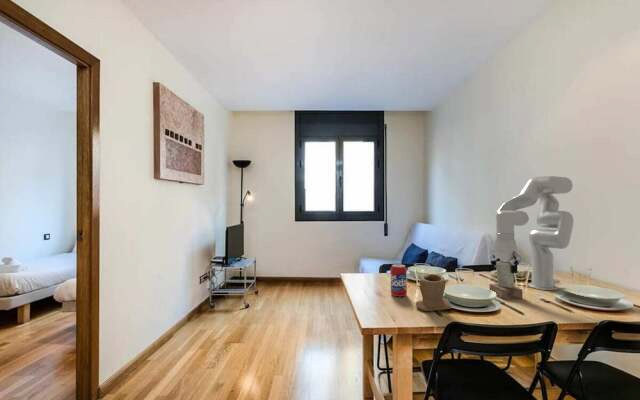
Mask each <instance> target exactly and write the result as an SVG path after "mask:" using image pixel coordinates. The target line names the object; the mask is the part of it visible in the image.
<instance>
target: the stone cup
mask: <svg viewBox="0 0 640 400" xmlns="http://www.w3.org/2000/svg"><path fill="white" fill-rule="evenodd" d="M445 288H446V281H445V279H444V277H443V276H441V275H440V274H436V273H429V274H426V275H422V276H421V277H420V279H419V289H420V293H421V296H422V297H421V298H422V300H418V301H416V302H415V306H416V307H417V308H418V309H419V310H422V311H427V312H434V311H443V310H451V309H452V305H451V304H450V302H449V299H448V298H444V293H445Z"/></svg>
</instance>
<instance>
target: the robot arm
mask: <svg viewBox="0 0 640 400" xmlns="http://www.w3.org/2000/svg"><path fill="white" fill-rule="evenodd" d="M523 186H524V187H523V188H522V189H521V191H520V192H519V194H517V195H516V196H514V197H512V198H510V199H508V200H507V201H505V202H503V204H502V205H501V206H500V207H499V209H498V210H497V212H496V214H495V220H496V221H495V222H496V225H495V226H496V233H495V234H496V237H495V239H494V244H493V250H492V251H491V255H492V258H493V260H494V264H495V265H494V269H495V270H497V266H496V262H497V261H509V262H511V264H512V265H511V273H514V274H518V271H519V270H518V266H519V264H520V263H521V260H522V256H521V255H520V254H518V251H517V250H518V249H517V243H516V239H515V226H517V227H518V226H520V227H521V226H525V225H527V224H528V222H529V220H530V218H529V214H528V213H527V212H526V211H523V210H522V209H526V208H529V207H532V206H534V205H535V204H537V202H538V200H539V208H538V212H537V215H536V221H535V222H536V225H537V226H538V227H541V228H535V229H532V230H531V231H530V232H529V234H528V240H529V243H530V244H529V245H530V250H531V251H530V252H531V253H530V254H531V282H528V287H530V288H533V289H537V290H541V291H556V290H558V286H556V284H558V285H559V284H561V280H560V279H554V255H553V252H552V251H551V249H559V250H562V249H563V250H564V249H566V248H567V247H568V246H569V245H570V241H571V237H572V231H573V227H574V217H573V214H572V213H571V212H569V211H566V210H559V207H560V203H559V200H558V199H557V198H556V197H555V196H554V194H555V195H557V194H559V195H561V194H568V193H570V192H571V191H572V189H573V182H572V180H571V179H570V178H569V177H566V176H554V175H553V176H551V175H550V176H549V175H548V176H535V177H532V178H530V179H528V180H527V182H526V183H525V185H523Z"/></svg>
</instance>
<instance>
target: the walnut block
mask: <svg viewBox="0 0 640 400" xmlns="http://www.w3.org/2000/svg"><path fill="white" fill-rule="evenodd" d="M490 290H492V291H494V292H496V294H497V298H498V299H499V300H523V289H522V288H519V287H517V286H515V285H514V287H512V288H507V287H502V286H497V283H490V284H489V291H490Z"/></svg>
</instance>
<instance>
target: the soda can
mask: <svg viewBox="0 0 640 400" xmlns="http://www.w3.org/2000/svg"><path fill="white" fill-rule="evenodd" d="M407 271H408V270H407V267H406V265H405V264H402V263H401V264H399V263H397V264H392V265H391V267H390V294H391V295H392V296H393V297H396V296H399V297H398V298H402V297H401V296H403V297H405V296H407V294H408V292H407V291H408V290H407V289H408V287H407V285H408V284H407V282H408V279H407V278H408V277H407V276H408V273H407Z"/></svg>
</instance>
